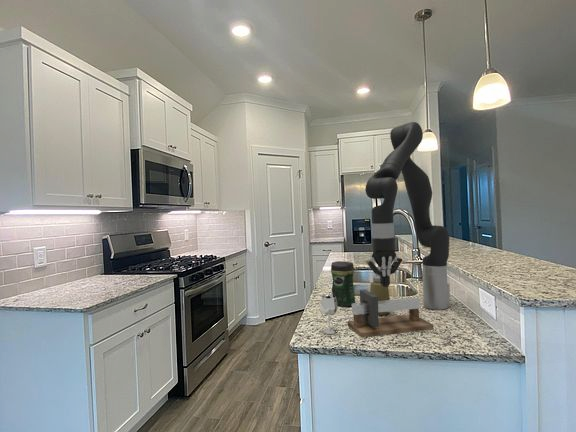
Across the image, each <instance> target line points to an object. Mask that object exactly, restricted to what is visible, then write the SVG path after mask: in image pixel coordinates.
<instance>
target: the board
mask: <svg viewBox="0 0 576 432" xmlns="http://www.w3.org/2000/svg"><path fill="white" fill-rule="evenodd" d="M352 315H353V319H352V320H347V326H348V327H349V328H350V329H351V330H352V331H353V332H355V334H357V335H358V336H359V337H360V338H369V337H376V336H377V337H378V336H385V335H394V334H402V333H414V332H419V331H421V332H423V331H429V330H434V329H435V328H434V324H433V323H431V322H429V321H427V320H425V319H424V318H422V317H420V308H418V309H408V314H403V315H402V314H401V315H393V316H391V315H390V316H386V317H385V316H384V317H378V319H379V327H372V326H371V325H369V324H368V323H367V322H365V321H364V320H363V318H362V314H359V315H355V314H354V313H352Z"/></svg>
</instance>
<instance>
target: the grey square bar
mask: <svg viewBox="0 0 576 432" xmlns="http://www.w3.org/2000/svg"><path fill="white" fill-rule="evenodd" d="M418 308H419V309H421V300H420V298H417V297H406V298H397V299H396V298H395V299H390V300H384V301H378V313H379V312H388V313H389V312H398V311H407V310H408V311H409V309H418ZM351 313H352V314H353V313H354V314H355V315H359V314H369V303H368V302H363V303H360V302H355V303H353V304H352V306H351Z"/></svg>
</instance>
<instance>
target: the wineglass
mask: <svg viewBox="0 0 576 432" xmlns="http://www.w3.org/2000/svg"><path fill="white" fill-rule="evenodd" d="M319 305H320V311H321V313H322V314H324V315H325V316H328V317H327V321H328V328H327V329H326V328H325V329H324V330H323V331H322V332H323V333H324V334H328V335H333V334H336V333H337V330H336V329H334V328H332V327H331V319H332V316H334V315H335V314H336V313H337V312H338V308H339V307H338V305H337V300H336V296H334V295H332V294H325V295H322V296H321V299H320V304H319Z"/></svg>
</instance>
